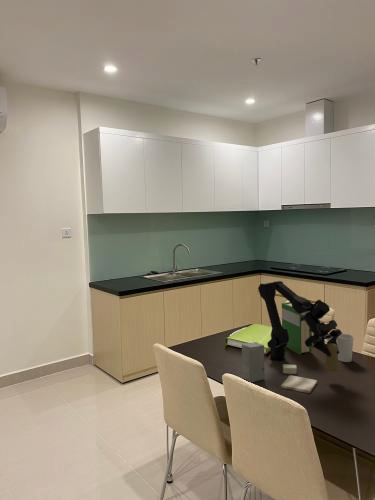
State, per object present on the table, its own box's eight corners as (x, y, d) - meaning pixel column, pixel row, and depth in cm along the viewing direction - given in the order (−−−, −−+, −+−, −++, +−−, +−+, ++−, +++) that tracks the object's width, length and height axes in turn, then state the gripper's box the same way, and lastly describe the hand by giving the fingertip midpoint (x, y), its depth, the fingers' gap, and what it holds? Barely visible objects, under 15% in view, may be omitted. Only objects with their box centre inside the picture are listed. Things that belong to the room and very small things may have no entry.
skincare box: (250, 383, 174) (250, 348, 173) (241, 377, 181) (240, 343, 179) (265, 379, 178) (265, 344, 177) (256, 373, 184) (255, 340, 183)
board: (281, 387, 169) (281, 385, 169) (290, 377, 179) (290, 375, 179) (309, 393, 163) (309, 391, 163) (317, 382, 173) (317, 380, 173)
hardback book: (311, 352, 210) (311, 308, 208) (299, 354, 208) (299, 309, 205) (293, 343, 227) (293, 301, 224) (282, 344, 224) (281, 302, 222)
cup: (355, 362, 194) (355, 338, 193) (337, 362, 196) (337, 338, 195) (351, 357, 202) (351, 334, 201) (335, 356, 204) (335, 333, 203)
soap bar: (283, 373, 184) (283, 367, 184) (283, 370, 188) (282, 364, 188) (296, 374, 183) (296, 368, 183) (296, 371, 187) (296, 364, 187)
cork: (322, 366, 177) (322, 342, 176) (335, 365, 177) (335, 341, 176) (328, 371, 171) (328, 346, 170) (341, 371, 171) (341, 346, 170)
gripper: (310, 317, 171) (330, 350, 162) (338, 311, 180) (360, 341, 172) (296, 331, 178) (315, 362, 170) (324, 324, 188) (344, 354, 179)
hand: (334, 354), depth 172 cm, fingers closed on cork, 5 cm apart
